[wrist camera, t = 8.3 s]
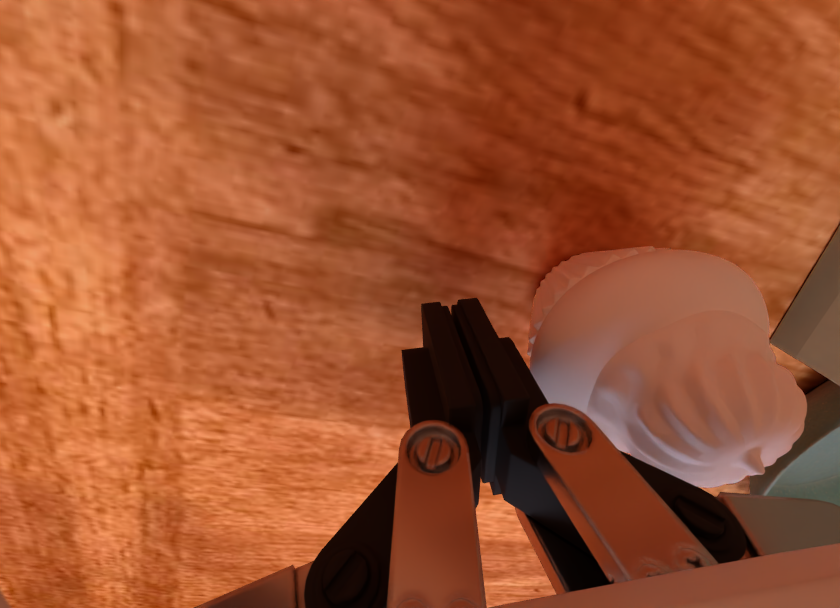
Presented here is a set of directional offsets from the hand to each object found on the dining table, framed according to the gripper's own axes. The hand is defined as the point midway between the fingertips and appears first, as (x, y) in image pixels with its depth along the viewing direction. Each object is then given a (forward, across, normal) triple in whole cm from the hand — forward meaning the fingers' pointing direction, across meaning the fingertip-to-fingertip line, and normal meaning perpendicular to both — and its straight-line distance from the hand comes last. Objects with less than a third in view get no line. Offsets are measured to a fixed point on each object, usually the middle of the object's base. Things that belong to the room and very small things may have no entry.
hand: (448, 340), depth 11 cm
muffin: (+2, -5, 0) cm, 5 cm away
